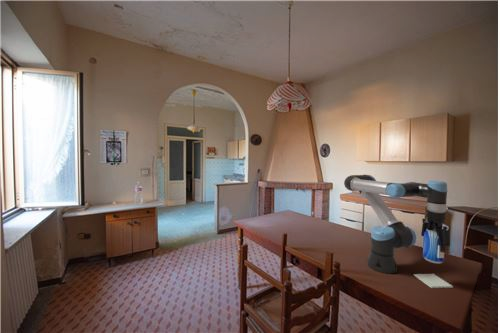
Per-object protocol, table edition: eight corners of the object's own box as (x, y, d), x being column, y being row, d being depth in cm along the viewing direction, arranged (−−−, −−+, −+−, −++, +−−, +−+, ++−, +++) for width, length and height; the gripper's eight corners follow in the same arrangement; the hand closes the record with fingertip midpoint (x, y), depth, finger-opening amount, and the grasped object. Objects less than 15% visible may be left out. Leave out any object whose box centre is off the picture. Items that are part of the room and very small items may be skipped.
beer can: (423, 254, 116) (425, 226, 116) (444, 260, 110) (445, 230, 110) (421, 260, 110) (423, 230, 110) (443, 266, 105) (445, 234, 104)
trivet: (431, 288, 105) (431, 286, 105) (413, 275, 116) (413, 274, 116) (452, 287, 105) (452, 286, 105) (433, 275, 116) (433, 273, 116)
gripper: (462, 216, 99) (460, 263, 100) (426, 206, 118) (425, 246, 120) (447, 216, 99) (444, 264, 100) (413, 206, 118) (412, 246, 119)
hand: (434, 254), depth 110 cm, fingers closed on beer can, 7 cm apart
